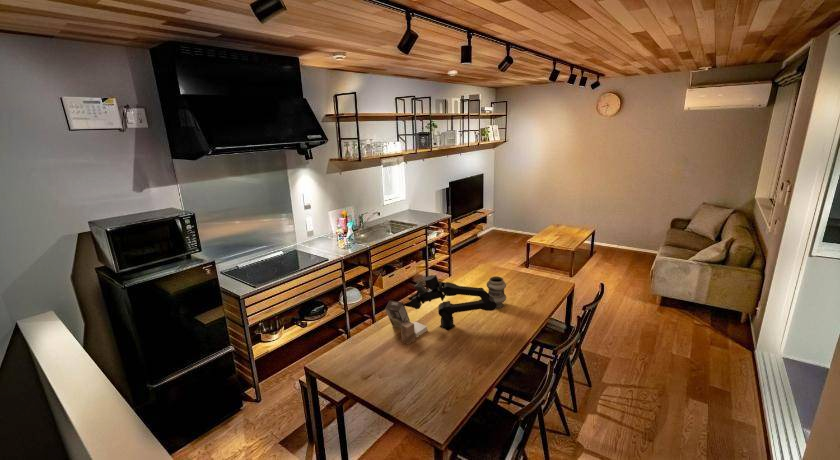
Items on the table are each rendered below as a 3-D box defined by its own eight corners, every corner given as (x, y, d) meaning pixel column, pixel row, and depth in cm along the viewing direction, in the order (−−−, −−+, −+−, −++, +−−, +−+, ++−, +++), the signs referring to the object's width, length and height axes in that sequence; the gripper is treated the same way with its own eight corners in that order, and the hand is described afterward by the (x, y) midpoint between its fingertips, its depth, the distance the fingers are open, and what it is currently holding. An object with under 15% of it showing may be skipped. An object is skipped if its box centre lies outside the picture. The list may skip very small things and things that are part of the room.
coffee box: (410, 320, 222) (403, 302, 212) (406, 329, 218) (399, 311, 208) (396, 317, 226) (389, 299, 216) (391, 326, 221) (384, 308, 211)
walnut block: (414, 340, 207) (414, 323, 204) (408, 344, 203) (407, 327, 200) (408, 337, 210) (407, 320, 207) (401, 341, 206) (400, 324, 203)
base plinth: (427, 330, 215) (427, 326, 215) (416, 337, 209) (416, 333, 208) (415, 325, 221) (415, 321, 221) (404, 332, 215) (404, 328, 214)
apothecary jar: (484, 308, 237) (484, 281, 231) (488, 299, 247) (488, 273, 242) (504, 311, 232) (504, 284, 227) (507, 302, 243) (508, 276, 238)
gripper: (430, 276, 222) (405, 283, 226) (422, 286, 204) (396, 294, 208) (436, 293, 223) (412, 300, 227) (429, 306, 205) (403, 313, 209)
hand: (406, 301), depth 218 cm, fingers open, 9 cm apart
